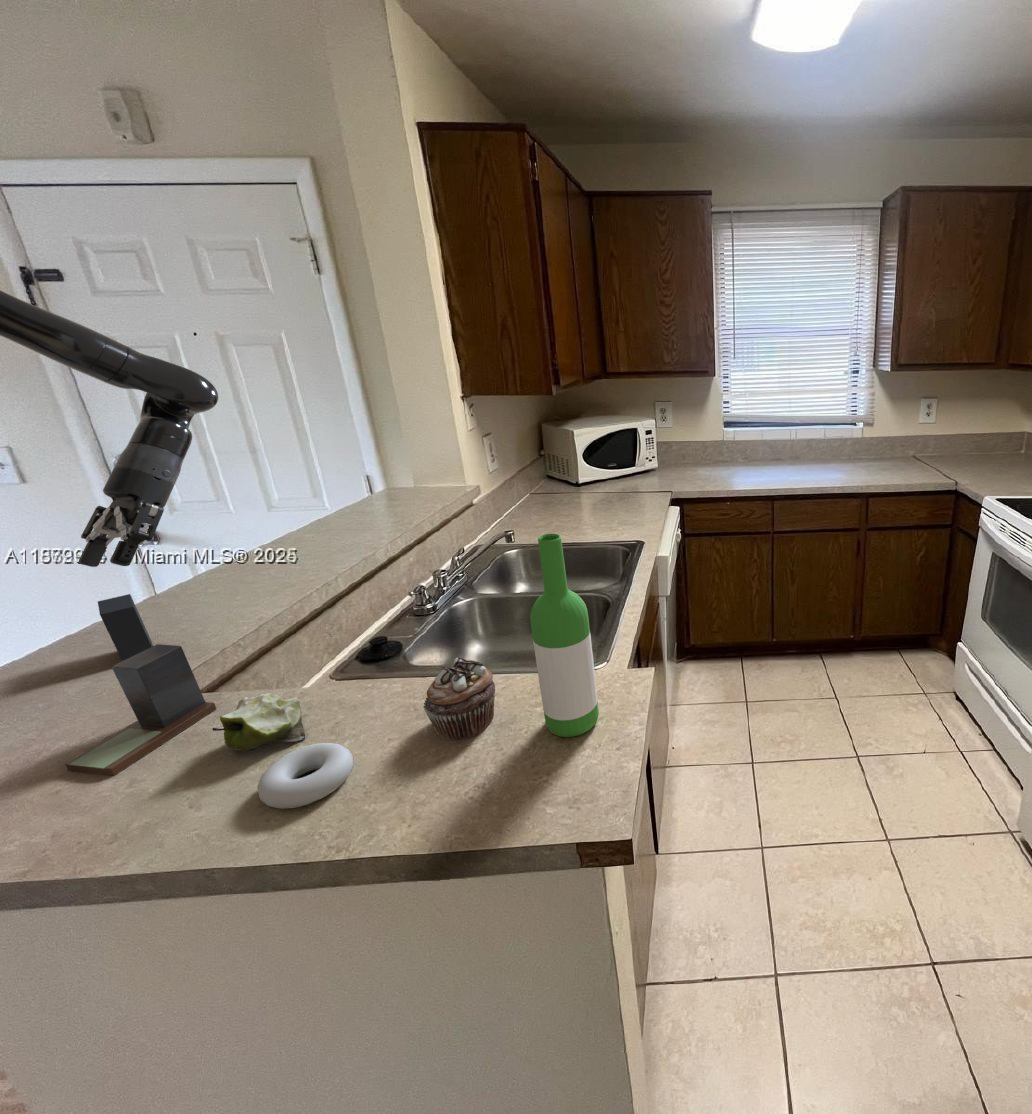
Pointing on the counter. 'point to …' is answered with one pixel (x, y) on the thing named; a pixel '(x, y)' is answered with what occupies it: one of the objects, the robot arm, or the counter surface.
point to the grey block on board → (148, 709)
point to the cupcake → (461, 700)
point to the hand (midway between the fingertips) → (103, 565)
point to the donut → (290, 792)
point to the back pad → (124, 625)
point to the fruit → (262, 722)
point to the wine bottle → (563, 648)
